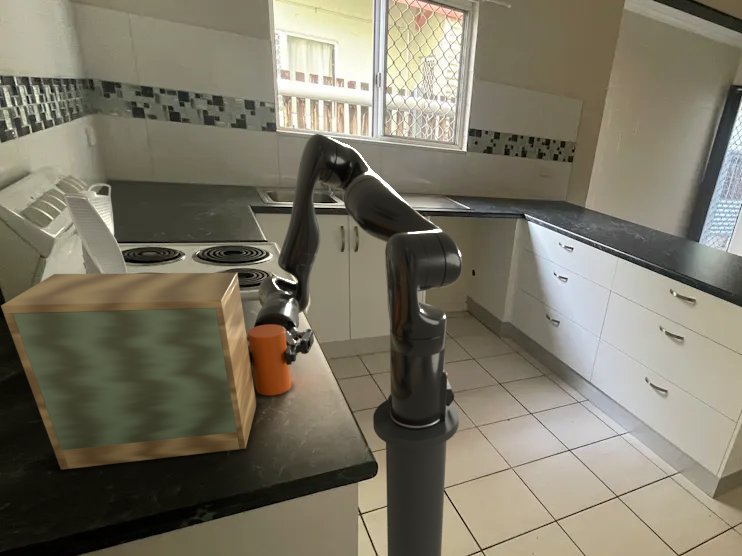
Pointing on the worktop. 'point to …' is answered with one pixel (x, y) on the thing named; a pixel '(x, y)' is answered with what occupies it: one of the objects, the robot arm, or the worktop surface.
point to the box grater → (96, 231)
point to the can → (269, 359)
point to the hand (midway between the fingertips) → (268, 361)
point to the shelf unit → (136, 364)
